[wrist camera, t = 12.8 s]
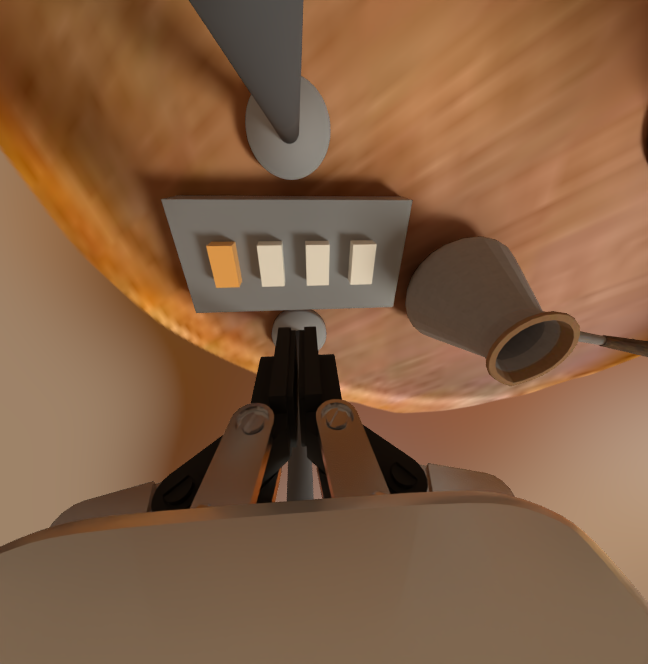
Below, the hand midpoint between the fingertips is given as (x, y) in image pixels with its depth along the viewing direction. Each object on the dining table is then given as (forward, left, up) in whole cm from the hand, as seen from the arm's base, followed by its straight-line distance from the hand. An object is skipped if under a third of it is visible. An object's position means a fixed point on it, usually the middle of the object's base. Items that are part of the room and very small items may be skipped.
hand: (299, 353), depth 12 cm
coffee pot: (-22, +4, -17) cm, 28 cm away
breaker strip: (0, 0, -17) cm, 17 cm away
